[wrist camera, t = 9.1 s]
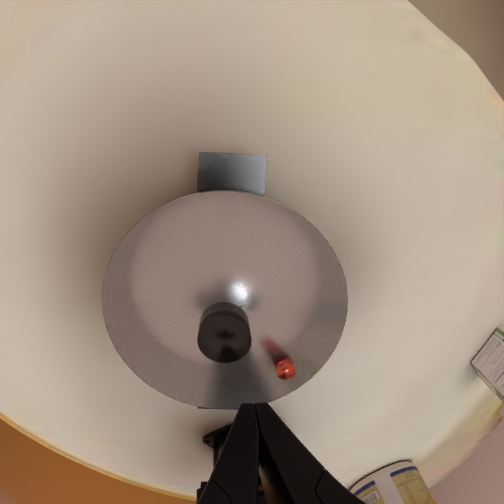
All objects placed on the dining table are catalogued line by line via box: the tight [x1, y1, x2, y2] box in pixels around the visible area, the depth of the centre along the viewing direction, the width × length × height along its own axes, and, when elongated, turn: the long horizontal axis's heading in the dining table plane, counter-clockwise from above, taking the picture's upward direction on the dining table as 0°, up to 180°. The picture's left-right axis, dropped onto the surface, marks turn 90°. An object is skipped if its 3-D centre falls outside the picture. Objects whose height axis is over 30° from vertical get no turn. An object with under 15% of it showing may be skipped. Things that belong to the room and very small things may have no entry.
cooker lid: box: [102, 190, 348, 409], centre depth 14 cm, size 13×13×3 cm
